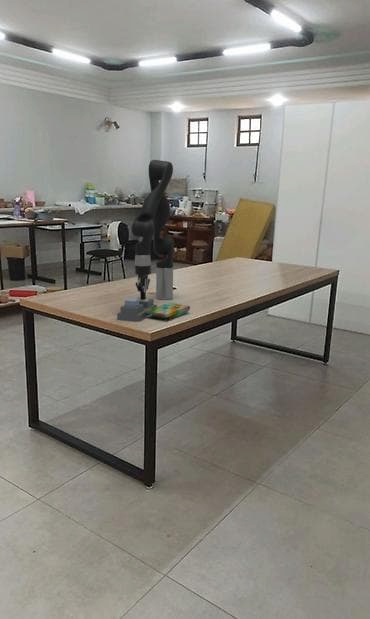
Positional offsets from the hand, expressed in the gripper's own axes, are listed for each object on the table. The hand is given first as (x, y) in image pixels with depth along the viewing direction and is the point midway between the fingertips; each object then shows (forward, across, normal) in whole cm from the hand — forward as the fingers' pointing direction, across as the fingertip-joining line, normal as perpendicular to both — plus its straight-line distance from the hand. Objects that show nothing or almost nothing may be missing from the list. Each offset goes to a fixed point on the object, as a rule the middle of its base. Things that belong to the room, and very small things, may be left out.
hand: (143, 299), depth 230 cm
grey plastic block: (+6, +6, 0) cm, 9 cm away
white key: (+3, 0, 0) cm, 3 cm away
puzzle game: (+7, +2, +14) cm, 16 cm away
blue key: (0, +13, 0) cm, 13 cm away
